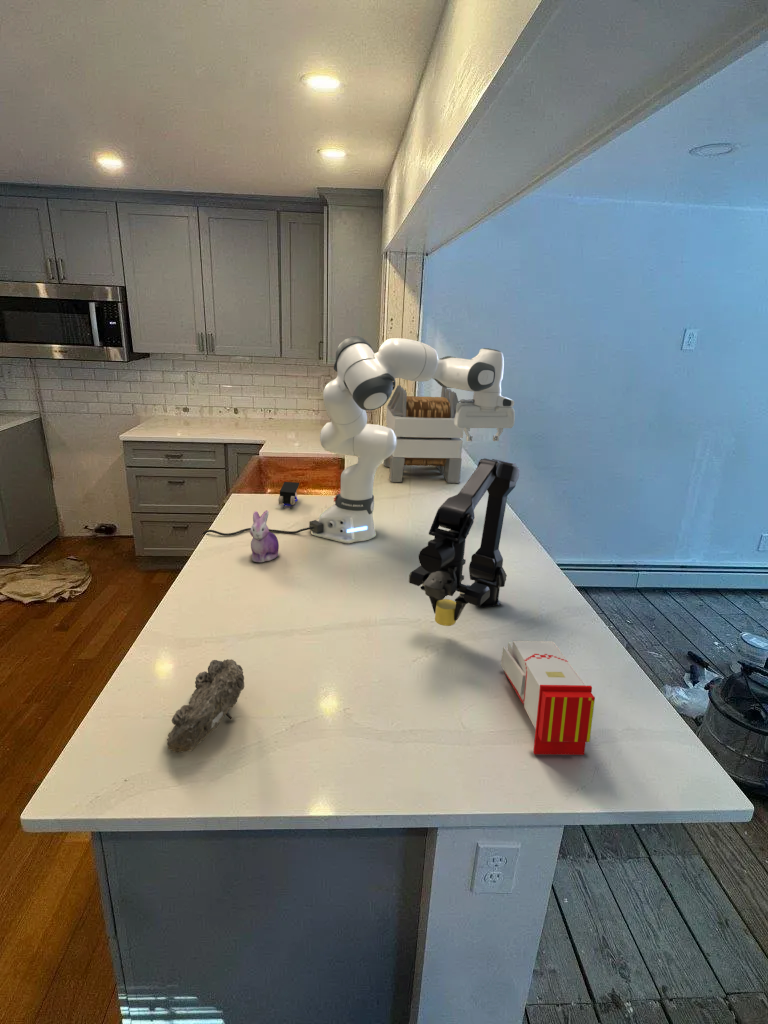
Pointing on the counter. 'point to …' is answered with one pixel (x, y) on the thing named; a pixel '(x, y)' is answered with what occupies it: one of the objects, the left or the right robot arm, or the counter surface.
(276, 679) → the counter surface
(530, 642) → the toy
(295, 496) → the black toy vehicle
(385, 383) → the left robot arm
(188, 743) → the fossil
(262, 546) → the figurine
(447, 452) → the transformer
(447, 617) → the yellow cylinder
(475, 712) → the counter surface
